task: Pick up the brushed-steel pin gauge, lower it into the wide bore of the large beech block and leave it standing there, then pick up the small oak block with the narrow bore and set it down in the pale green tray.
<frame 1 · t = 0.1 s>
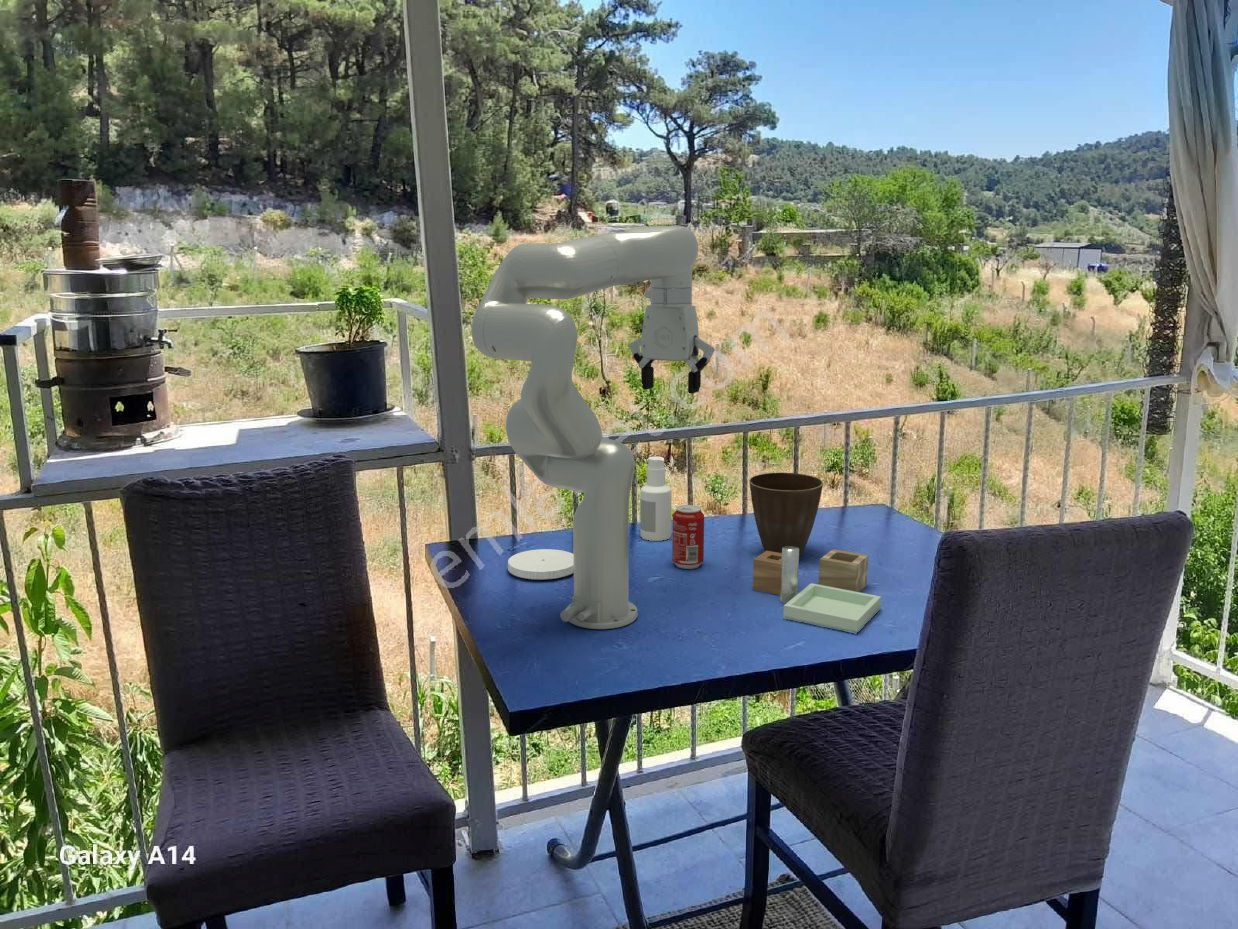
hand: (670, 390, 177), 37 cm above the table, tool pointing down, fingers open, 9 cm apart
plastic lid: (543, 573, 189), on the table
plant pot: (783, 556, 198), on the table
tray: (832, 614, 166), on the table
pin gauge: (788, 601, 172), on the table
go block: (842, 587, 179), on the table
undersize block: (773, 587, 179), on the table
spray bottle: (655, 538, 211), on the table
beverage can: (687, 566, 192), on the table
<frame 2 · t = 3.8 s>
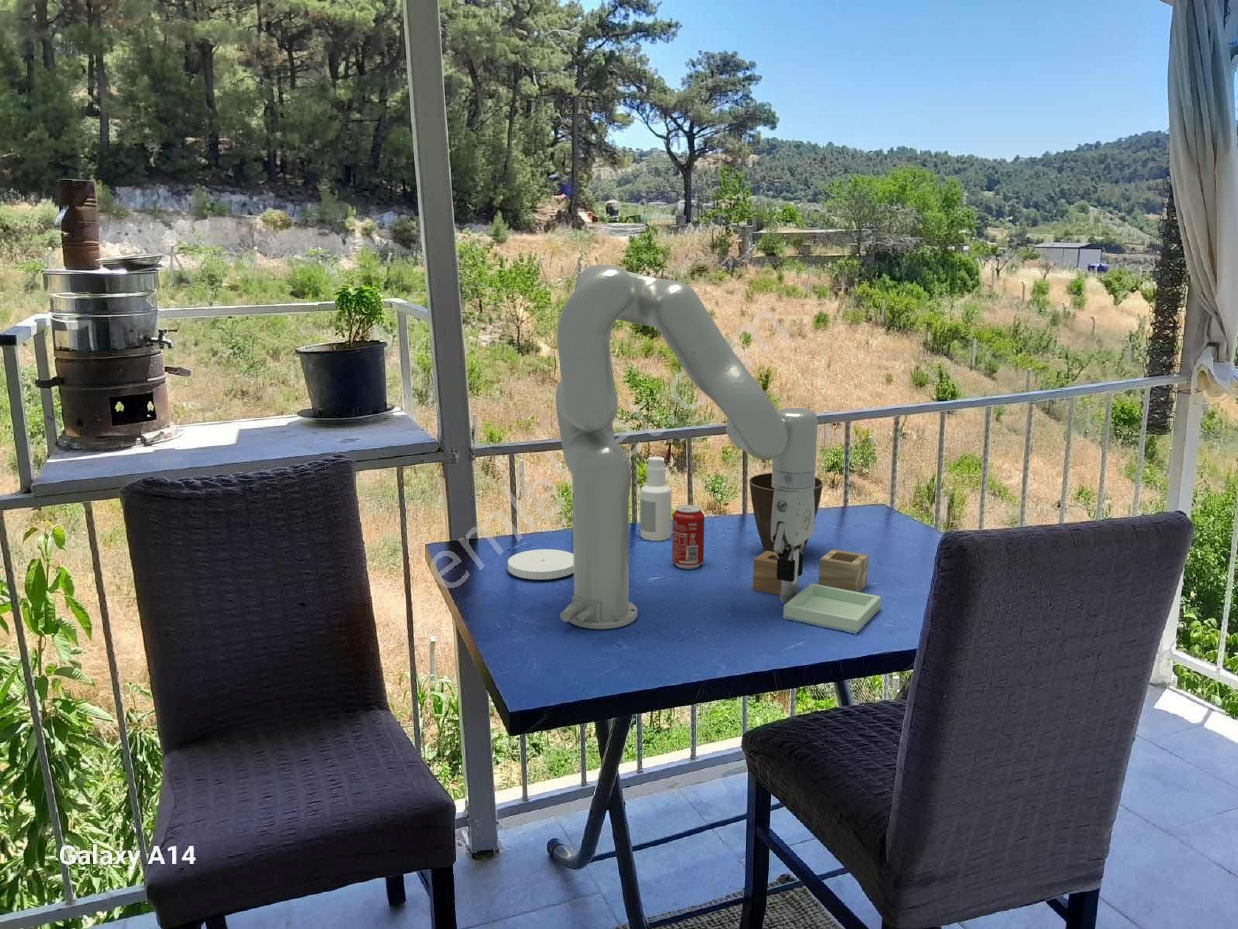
hand: (789, 576, 171), 5 cm above the table, tool pointing down, fingers closed on pin gauge, 3 cm apart
pin gauge: (788, 601, 172), on the table, touching gripper
everything else where it was.
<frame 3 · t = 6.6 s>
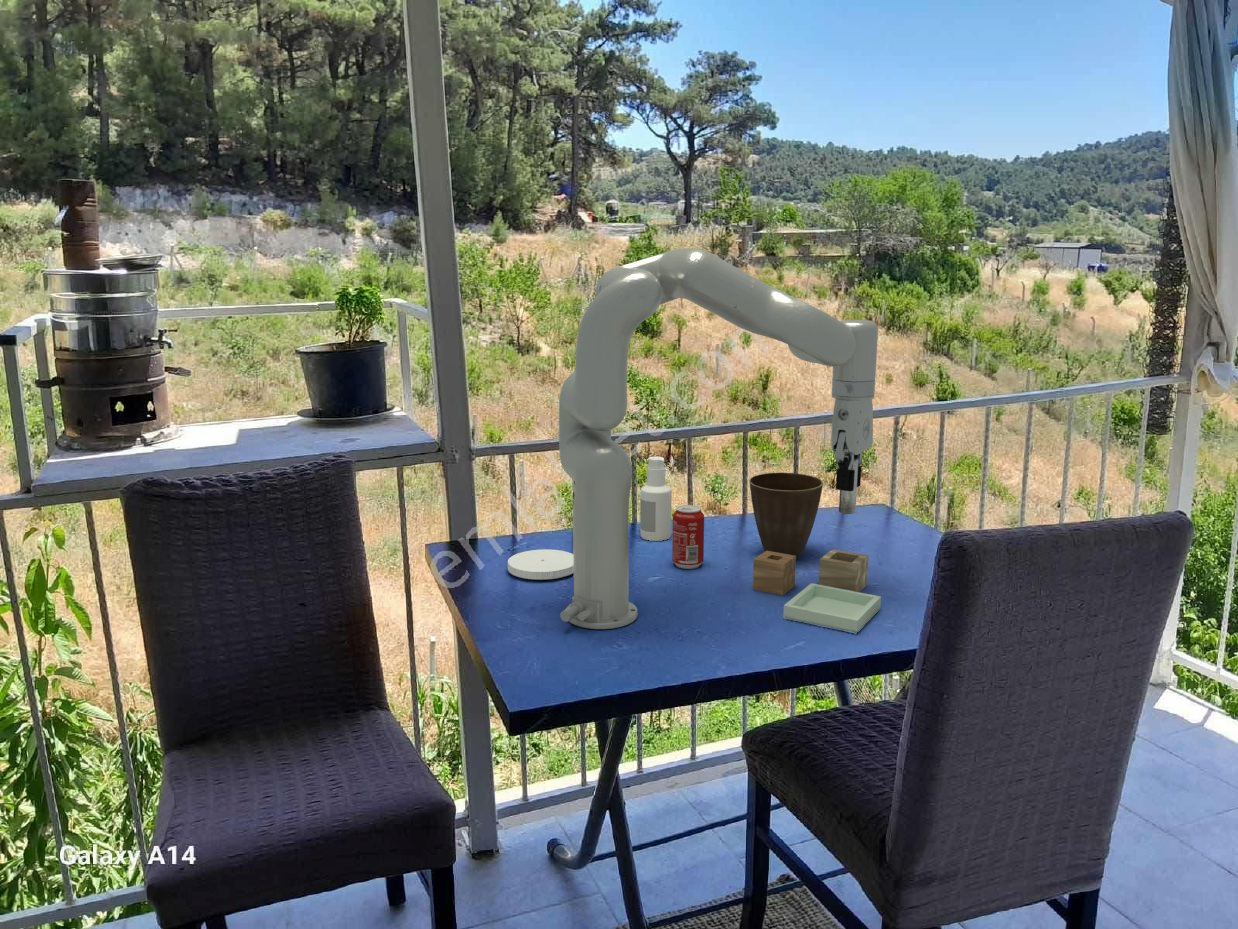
hand: (848, 487, 175), 20 cm above the table, tool pointing down, fingers closed on pin gauge, 3 cm apart
pin gauge: (847, 511, 176), point 15 cm above the table, touching gripper
everything else where it was.
when the fingers open (7 cm above the table, at t = 9.5 s): pin gauge drops 2 cm, resting in go block.
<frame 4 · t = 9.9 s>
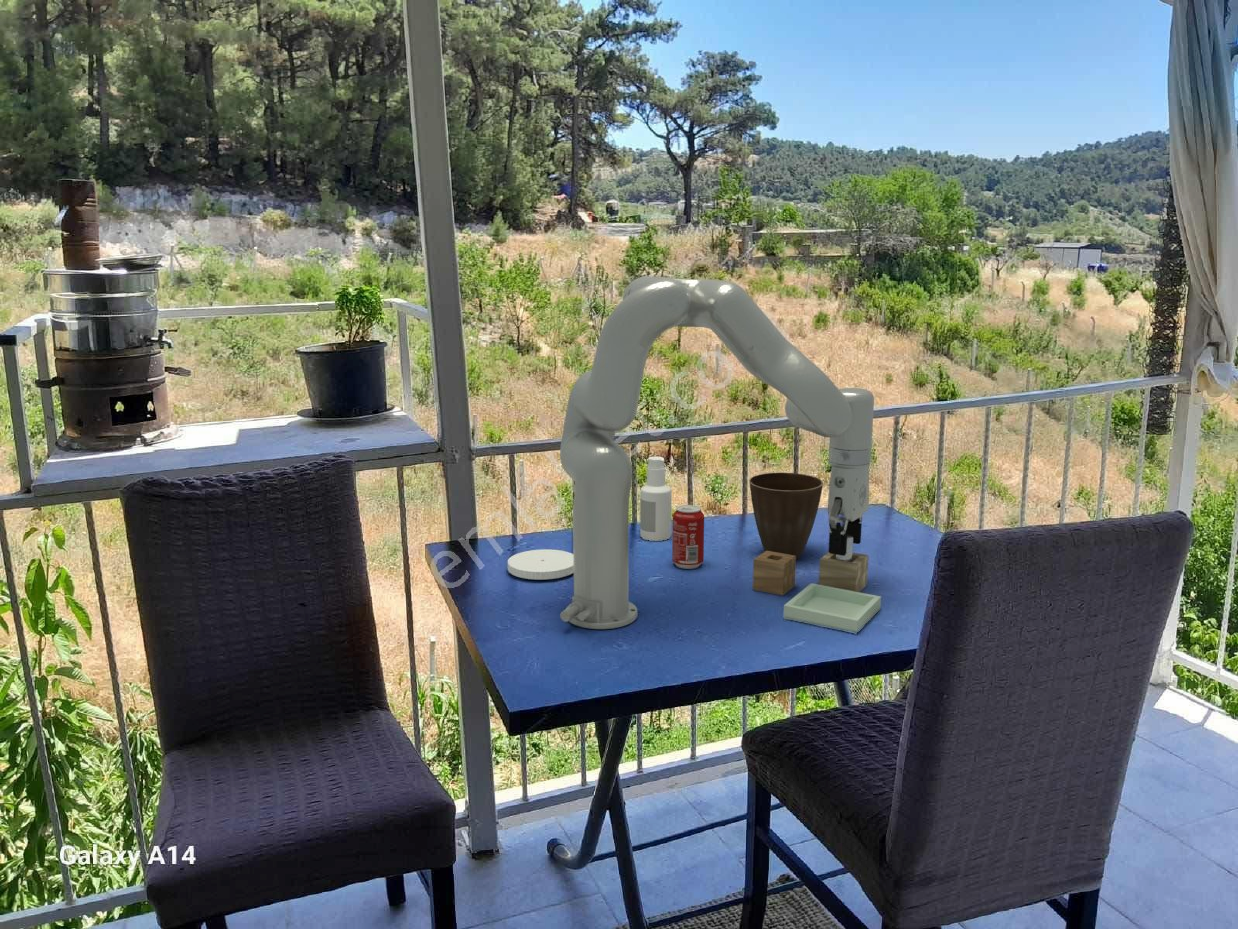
hand: (844, 547, 177), 8 cm above the table, tool pointing down, fingers open, 7 cm apart
pin gauge: (842, 587, 179), resting in go block
everything else where it was.
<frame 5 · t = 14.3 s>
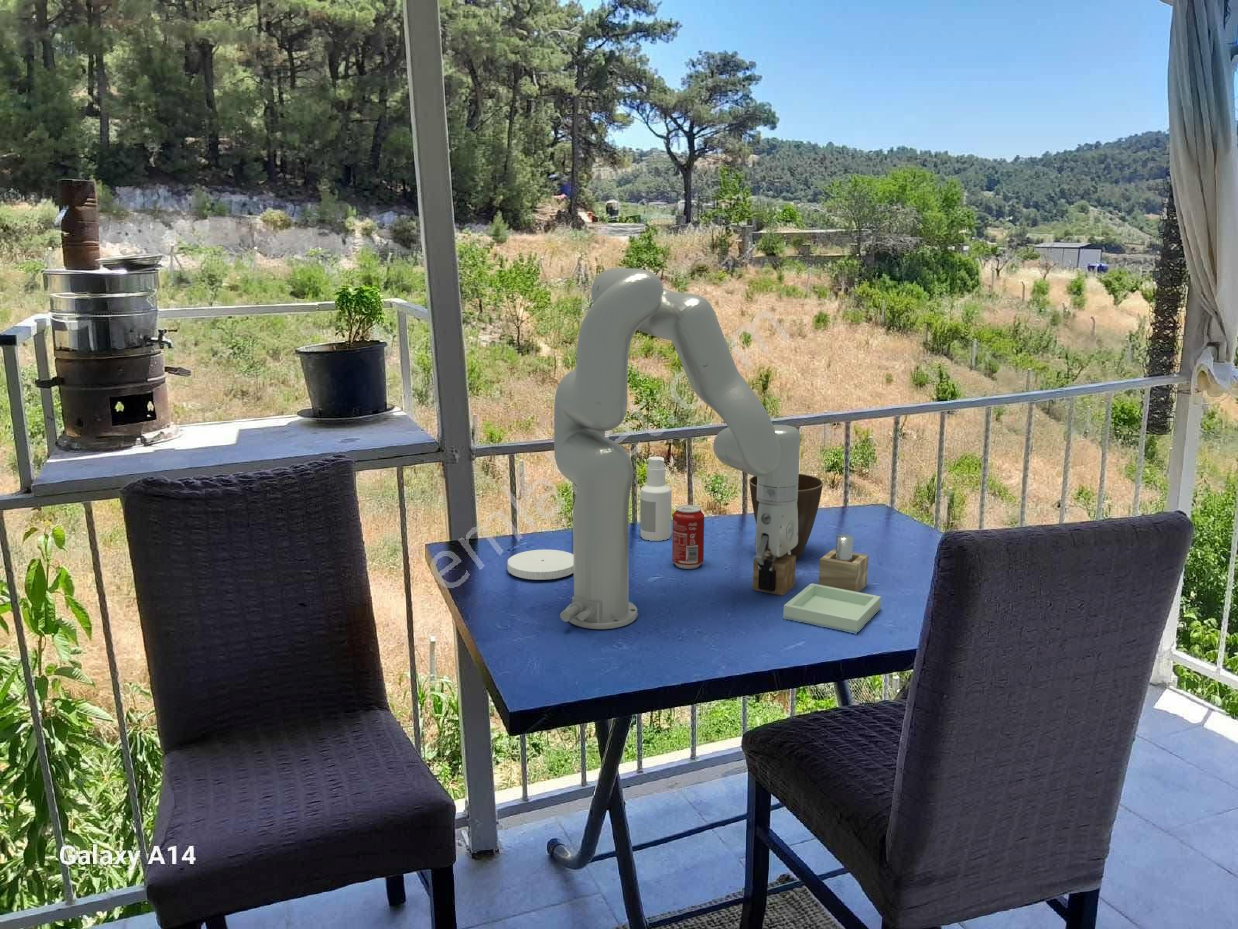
hand: (774, 583, 179), 1 cm above the table, tool pointing down, fingers closed on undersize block, 6 cm apart
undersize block: (773, 587, 179), on the table, touching gripper
everything else where it was.
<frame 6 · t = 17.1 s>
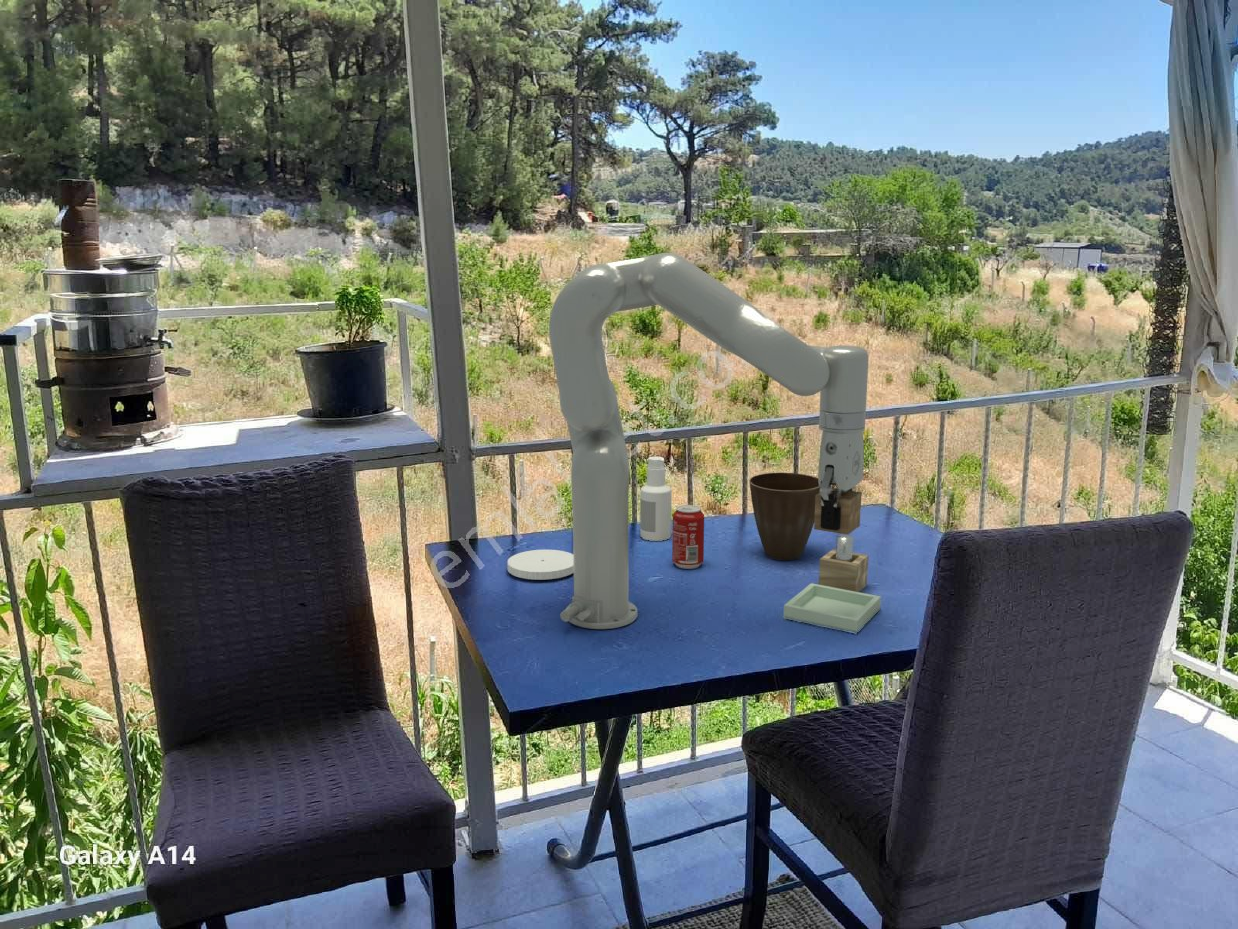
hand: (837, 523, 162), 17 cm above the table, tool pointing down, fingers closed on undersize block, 6 cm apart
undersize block: (837, 527, 163), point 16 cm above the table, touching gripper
everything else where it was.
when the fingers open (3 cm above the table, at t = 19.8 s): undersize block drops 2 cm, resting on tray.
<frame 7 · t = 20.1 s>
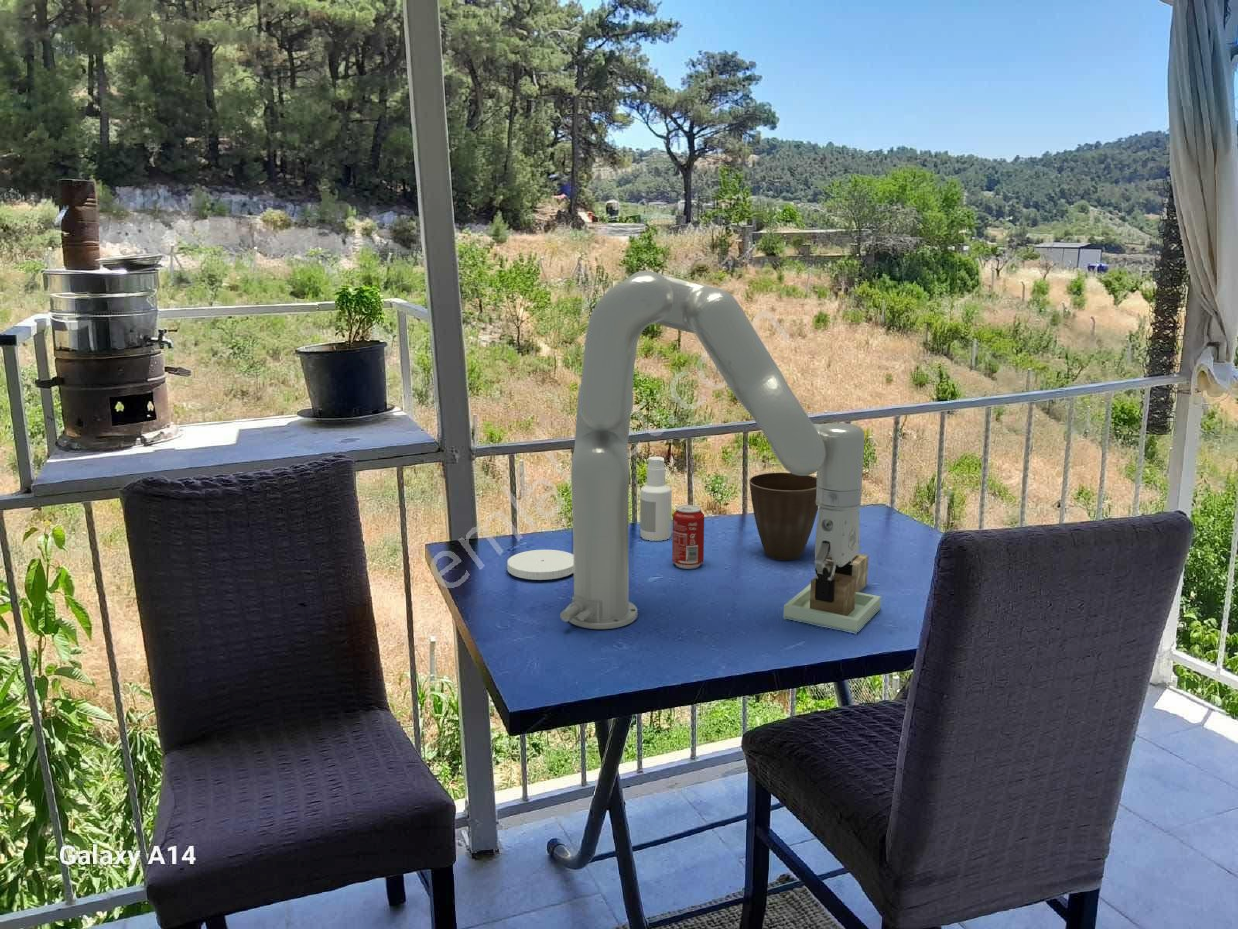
hand: (833, 592, 165), 4 cm above the table, tool pointing down, fingers open, 8 cm apart
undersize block: (832, 611, 166), point 1 cm above the table, touching tray
everything else where it was.
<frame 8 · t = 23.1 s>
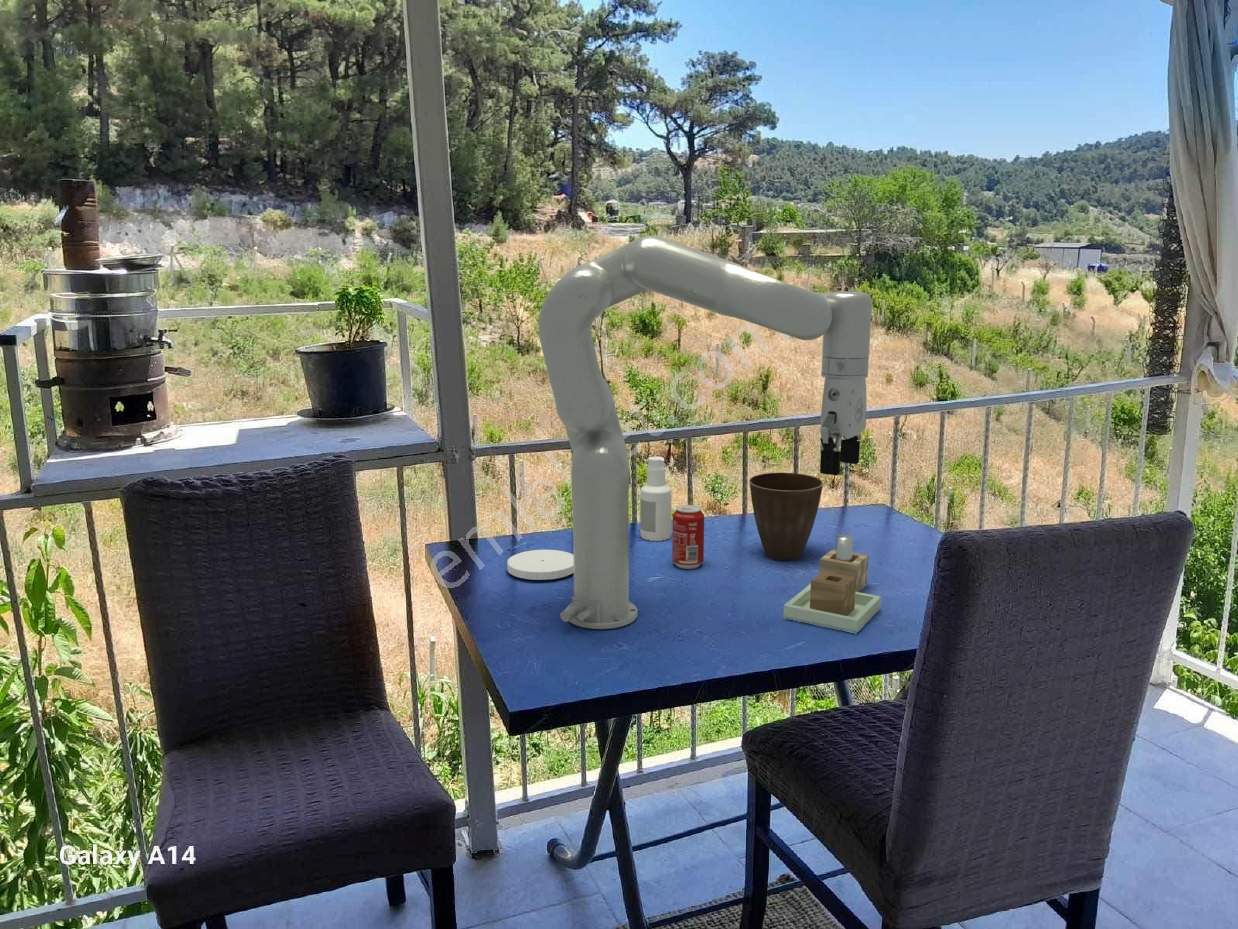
hand: (839, 468, 160), 26 cm above the table, tool pointing down, fingers open, 9 cm apart
nothing on the table moved.
at the end: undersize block inside the target area on the tray (0.1 cm from its centre), point 0.6 cm above the tray's base; pin gauge 0.1 cm off-centre on the go block, point 0.0 cm above the go block's base; pin gauge tilted 0° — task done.
